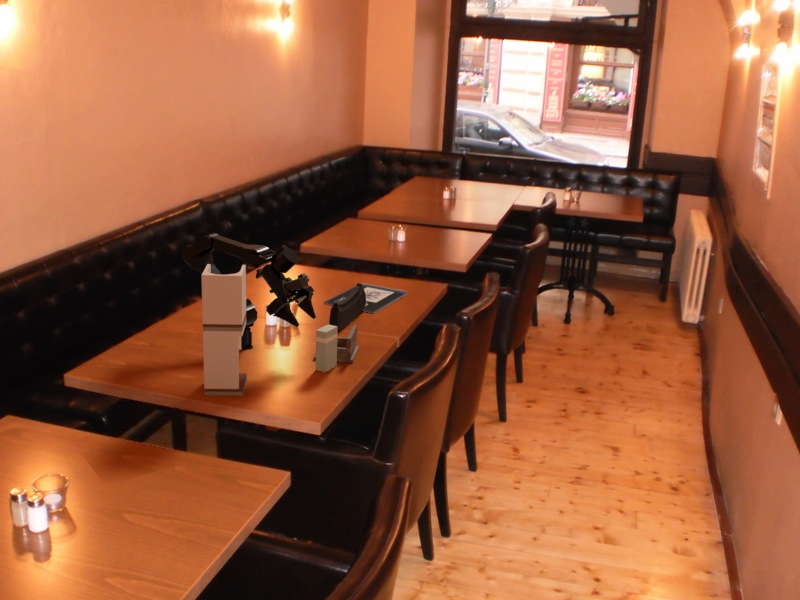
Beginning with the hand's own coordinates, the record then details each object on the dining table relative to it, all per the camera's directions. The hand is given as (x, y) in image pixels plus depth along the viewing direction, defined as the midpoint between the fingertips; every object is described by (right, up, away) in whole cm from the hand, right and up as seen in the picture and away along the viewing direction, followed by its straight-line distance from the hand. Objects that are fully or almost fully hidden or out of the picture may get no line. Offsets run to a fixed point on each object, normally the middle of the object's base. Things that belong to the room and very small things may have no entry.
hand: (306, 322), depth 261 cm
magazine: (+10, -1, +45) cm, 46 cm away
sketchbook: (+16, +7, +71) cm, 73 cm away
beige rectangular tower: (-21, -18, -17) cm, 33 cm away
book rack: (+8, -11, +12) cm, 18 cm away
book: (+6, -14, +1) cm, 15 cm away
